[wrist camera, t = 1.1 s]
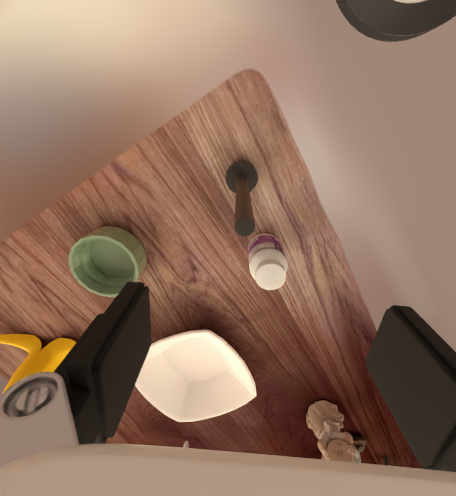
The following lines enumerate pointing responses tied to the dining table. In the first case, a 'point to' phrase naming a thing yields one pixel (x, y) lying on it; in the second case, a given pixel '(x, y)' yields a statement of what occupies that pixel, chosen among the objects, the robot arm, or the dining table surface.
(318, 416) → the figurine
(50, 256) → the dining table surface
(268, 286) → the pill bottle
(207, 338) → the bowl
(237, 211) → the disc-footed rod
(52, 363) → the banana peel
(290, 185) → the dining table surface
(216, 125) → the dining table surface
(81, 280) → the green round dish
